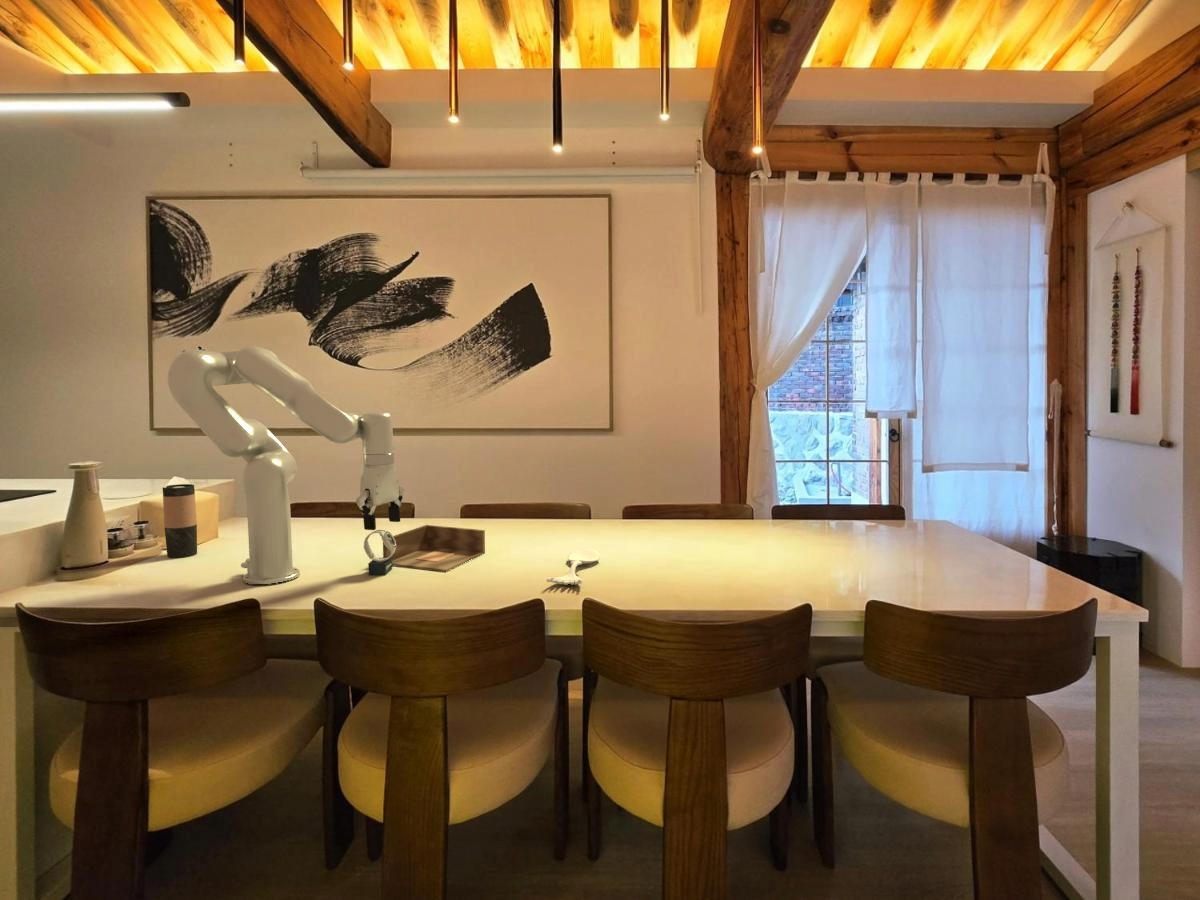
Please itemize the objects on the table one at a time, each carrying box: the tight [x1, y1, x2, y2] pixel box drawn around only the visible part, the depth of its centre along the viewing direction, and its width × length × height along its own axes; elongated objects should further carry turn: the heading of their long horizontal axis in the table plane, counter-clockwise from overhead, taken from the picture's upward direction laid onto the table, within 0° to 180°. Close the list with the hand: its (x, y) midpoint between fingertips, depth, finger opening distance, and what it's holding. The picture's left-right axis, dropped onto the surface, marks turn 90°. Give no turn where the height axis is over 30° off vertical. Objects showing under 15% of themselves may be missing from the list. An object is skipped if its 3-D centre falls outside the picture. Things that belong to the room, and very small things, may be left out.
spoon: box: [546, 548, 601, 586], centre depth 163 cm, size 9×32×4 cm, turn 171°
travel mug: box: [162, 483, 198, 559], centre depth 177 cm, size 8×8×20 cm
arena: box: [382, 524, 486, 572], centre depth 175 cm, size 20×20×7 cm
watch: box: [363, 529, 397, 576], centre depth 162 cm, size 6×8×11 cm
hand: (382, 525), depth 161 cm, fingers open, 9 cm apart
